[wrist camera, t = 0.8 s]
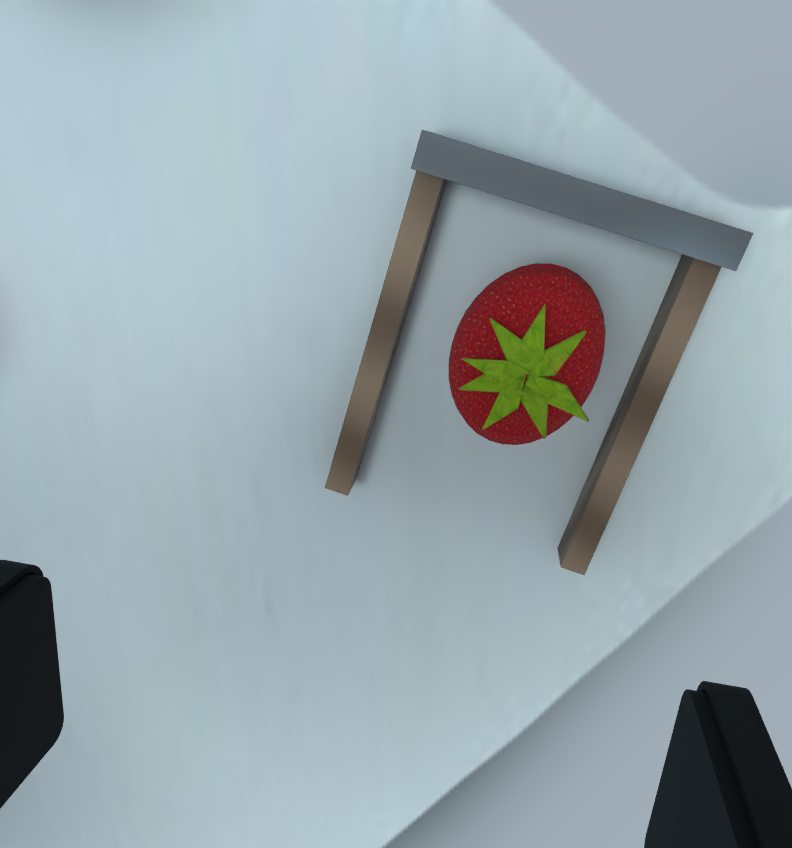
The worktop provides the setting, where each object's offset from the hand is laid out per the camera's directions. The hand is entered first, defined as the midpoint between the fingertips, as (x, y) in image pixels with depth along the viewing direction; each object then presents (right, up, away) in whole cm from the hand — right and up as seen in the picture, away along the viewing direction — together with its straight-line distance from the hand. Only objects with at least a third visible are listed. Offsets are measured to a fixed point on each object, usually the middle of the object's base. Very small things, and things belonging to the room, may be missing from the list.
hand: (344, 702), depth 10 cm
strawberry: (+7, +8, +24) cm, 26 cm away
